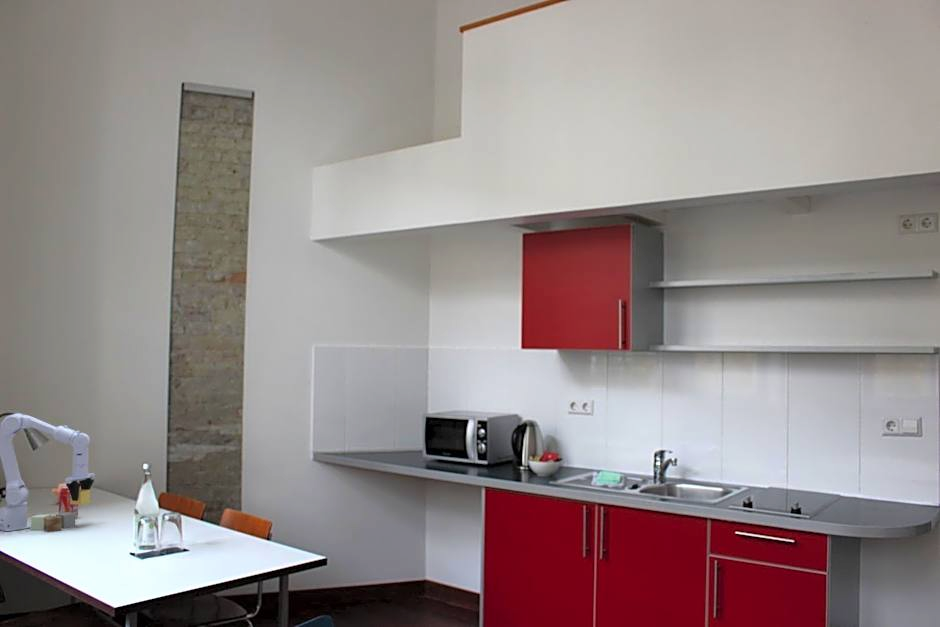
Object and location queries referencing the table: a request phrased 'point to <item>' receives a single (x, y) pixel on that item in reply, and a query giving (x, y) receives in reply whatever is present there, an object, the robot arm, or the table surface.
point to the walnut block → (53, 523)
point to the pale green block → (38, 522)
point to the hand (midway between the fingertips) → (79, 499)
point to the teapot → (59, 490)
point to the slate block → (67, 519)
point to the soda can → (66, 502)
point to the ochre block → (82, 497)
